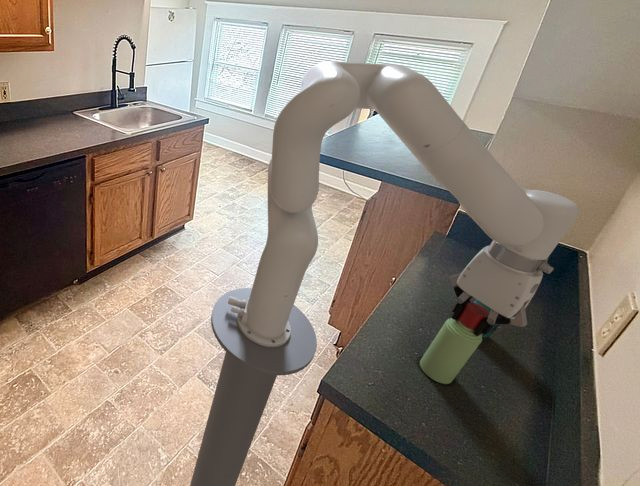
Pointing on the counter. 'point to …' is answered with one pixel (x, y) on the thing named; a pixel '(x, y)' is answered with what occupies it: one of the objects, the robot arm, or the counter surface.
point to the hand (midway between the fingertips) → (468, 324)
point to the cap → (473, 315)
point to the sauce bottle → (449, 351)
